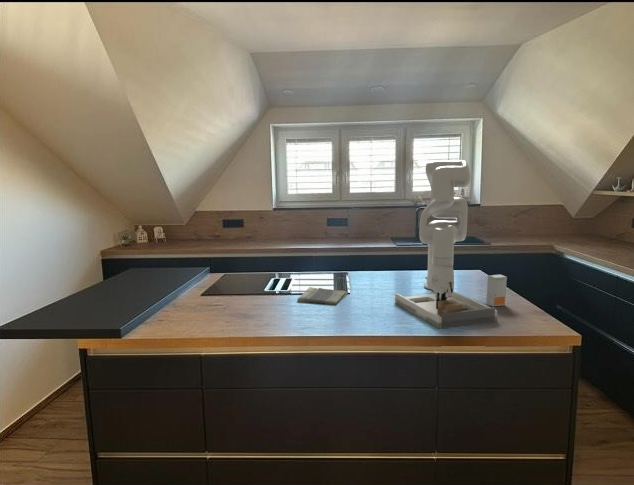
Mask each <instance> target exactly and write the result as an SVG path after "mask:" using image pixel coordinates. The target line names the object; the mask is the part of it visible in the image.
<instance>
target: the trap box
mask: <svg viewBox="0 0 634 485" xmlns="http://www.w3.org/2000/svg"><path fill="white" fill-rule="evenodd" d="M394 297H395V298H394V303H395V304H397V305H398V306H400V307H401V308H402V309H405V310H406V311H408V312H410V313H412V314H413V315H415V316H417V317H418V318H419V319H422V320H423V321H425V322H426V323H428V324H430V325H431V326H433V327H435V328H437V329H438V330H439V329H440V330H441V329H448V328H454V327H455V328H457V327H463V326H471V325H477V324H485V323H493V322H497V321H498V309H496V307H495V306H491V307H490V306H489V305H487V304H486V305H485V304H484V303H481V302H479V301H477V300H474V299H472V298H469V297H467V296H464V295H462V294H460V293H458V292H455V291H453V292H452V293H451V297H447V300H454V301H456V302H459V303H461V304H462V311H458V312H450V313H442V314H440V315H438V309H436V299H437V298H436V297H435V293H429V294H420V295H411V296H404V295H401V294H400V293H399V292H397V293H394Z"/></svg>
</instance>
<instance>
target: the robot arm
mask: <svg viewBox="0 0 634 485" xmlns="http://www.w3.org/2000/svg"><path fill="white" fill-rule="evenodd" d="M425 174H426V177H427V180H428V182H429V184H430V203H428V204H427V205H426V206H425V207H424V208H423V210H422V212H421V215H420V216H419V218H420V219H419V227H418V228H419V230H418V233H419V234H418V236H419V240H420V242H421V243H422V244H425V245H426V244H427V275H426V276H424V279H425V280H426V282H424V284H423V288H425V289H428V290H431V291H433V292H434V294H435V297H436V298H437V299H436V309H438V301H443V300H447V297H451V293H452V292H454V290H455V278H454V277H455V274H454V250H455V244H456V242H457V243H458V242H459V243H460V242H463V241H465V240H466V238H467V233H468V232H467V230H468V214H469V212H468V209H469V207H468V206H469V205H468V203H467V200H466V198H464V197H461V196H460V197H459V196H455V188H466V187H468V186H469V184H470V181H471V170H470V167H469V164H468V162H467V161H466V160H464V159H457V160H456V159H454V160H453V159H452V160H451V159H449V160H448V159H442V160H440V159H439V160H431V161H428V162H427V163H426V164H425ZM430 217H433V218H435V219H455V220H432V221H429V222H428V220H429V218H430ZM427 222H428V223H427Z"/></svg>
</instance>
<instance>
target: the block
mask: <svg viewBox="0 0 634 485" xmlns="http://www.w3.org/2000/svg"><path fill="white" fill-rule="evenodd" d="M458 311H462V304H461V303H459V302H456V301H454V300H443V301H438V315H440V314H442V313H450V312H458Z"/></svg>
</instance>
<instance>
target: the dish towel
mask: <svg viewBox="0 0 634 485" xmlns="http://www.w3.org/2000/svg"><path fill="white" fill-rule="evenodd" d="M348 294H349V292H348V291H346V290H338V289H336V290H335V289H331V288H330V289H328V288H322V287H319V288H316V287H311V286H310V287H308V288H307V289H306V290H305V291H304V292H303V293H302V294H301V295H300V296H299V297H298V298H297V303H305V304H307V303H308V304H317V305H327V306H328V305H329V306H337V305H338V304H339V303H341V302H342V301H343V300H344V299H345V298H346V297H347V296H348Z"/></svg>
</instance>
